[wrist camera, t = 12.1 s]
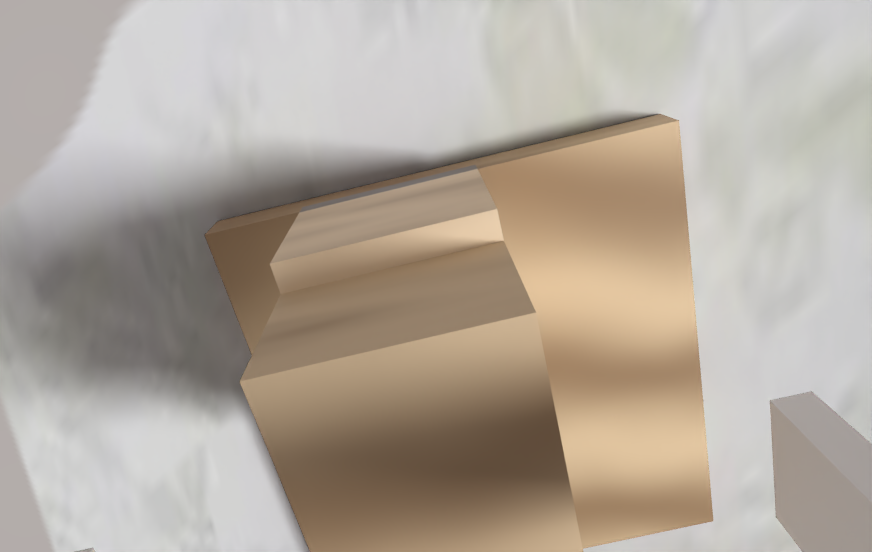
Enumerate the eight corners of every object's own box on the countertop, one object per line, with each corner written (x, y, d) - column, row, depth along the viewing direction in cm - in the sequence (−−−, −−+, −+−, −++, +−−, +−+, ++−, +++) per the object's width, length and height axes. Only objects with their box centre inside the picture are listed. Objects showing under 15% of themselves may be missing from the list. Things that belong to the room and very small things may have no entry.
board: (696, 494, 26) (713, 521, 25) (350, 568, 27) (347, 598, 26) (660, 114, 20) (678, 120, 19) (217, 221, 21) (204, 235, 20)
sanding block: (522, 383, 22) (592, 599, 14) (372, 417, 22) (351, 651, 14) (475, 164, 19) (528, 271, 11) (302, 207, 19) (223, 343, 11)
